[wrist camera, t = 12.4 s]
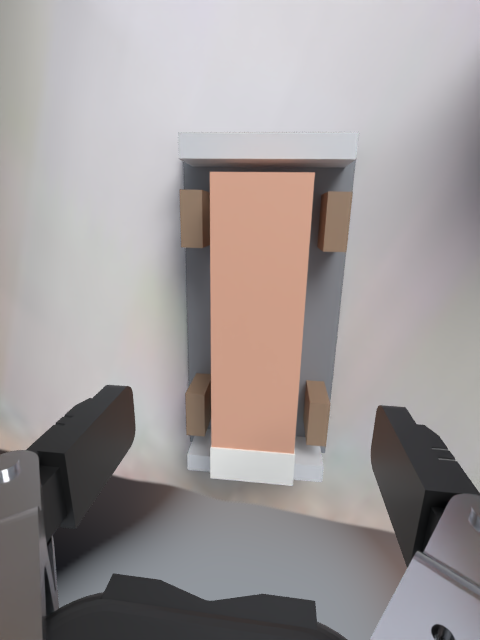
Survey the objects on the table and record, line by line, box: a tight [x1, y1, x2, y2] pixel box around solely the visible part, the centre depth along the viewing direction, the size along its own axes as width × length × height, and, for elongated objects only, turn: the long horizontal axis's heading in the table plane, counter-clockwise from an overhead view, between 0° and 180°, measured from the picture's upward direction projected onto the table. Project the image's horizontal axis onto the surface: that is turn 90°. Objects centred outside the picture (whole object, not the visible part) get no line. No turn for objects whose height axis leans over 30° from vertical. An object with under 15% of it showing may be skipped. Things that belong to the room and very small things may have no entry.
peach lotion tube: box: [210, 172, 315, 486], centre depth 20 cm, size 5×16×6 cm, turn 179°
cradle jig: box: [178, 132, 359, 482], centre depth 22 cm, size 10×20×4 cm, turn 179°
